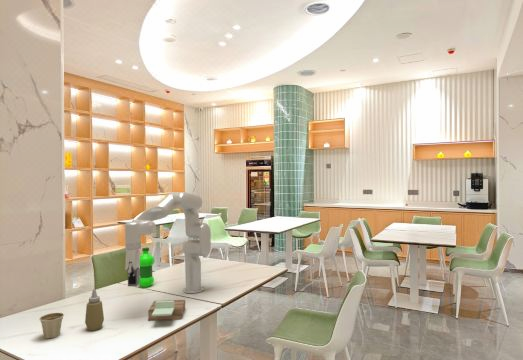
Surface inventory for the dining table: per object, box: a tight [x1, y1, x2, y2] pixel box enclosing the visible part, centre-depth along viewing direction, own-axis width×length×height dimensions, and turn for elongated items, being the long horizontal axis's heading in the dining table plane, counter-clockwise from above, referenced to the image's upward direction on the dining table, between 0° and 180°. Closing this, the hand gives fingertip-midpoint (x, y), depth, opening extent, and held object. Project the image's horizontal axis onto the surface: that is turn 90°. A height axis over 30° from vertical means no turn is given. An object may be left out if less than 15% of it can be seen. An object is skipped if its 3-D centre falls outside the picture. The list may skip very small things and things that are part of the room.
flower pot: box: [39, 312, 65, 339], centre depth 156 cm, size 9×9×9 cm
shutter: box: [152, 300, 174, 316], centre depth 169 cm, size 9×9×4 cm
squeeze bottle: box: [84, 288, 105, 331], centre depth 164 cm, size 8×8×18 cm
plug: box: [127, 267, 140, 287], centre depth 178 cm, size 4×4×8 cm
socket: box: [147, 299, 186, 322], centre depth 179 cm, size 14×16×5 cm
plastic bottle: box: [139, 246, 155, 288], centre depth 230 cm, size 10×10×25 cm
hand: (133, 282), depth 178 cm, fingers closed on plug, 4 cm apart
